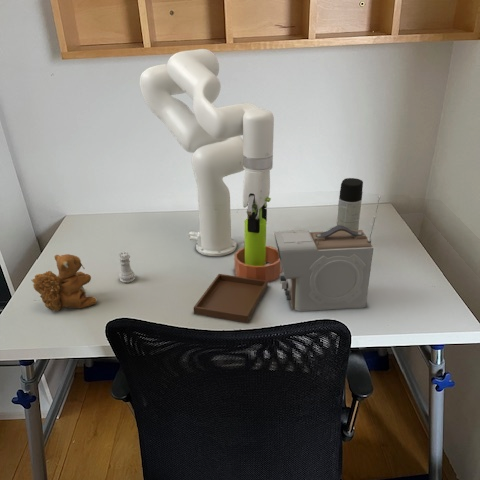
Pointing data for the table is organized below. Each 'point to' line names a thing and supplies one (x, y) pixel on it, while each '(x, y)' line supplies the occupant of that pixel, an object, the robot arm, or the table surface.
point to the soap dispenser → (256, 242)
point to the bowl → (259, 272)
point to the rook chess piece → (125, 268)
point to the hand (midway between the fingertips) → (257, 226)
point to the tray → (231, 298)
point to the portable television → (325, 267)
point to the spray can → (350, 203)
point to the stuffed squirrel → (64, 285)
